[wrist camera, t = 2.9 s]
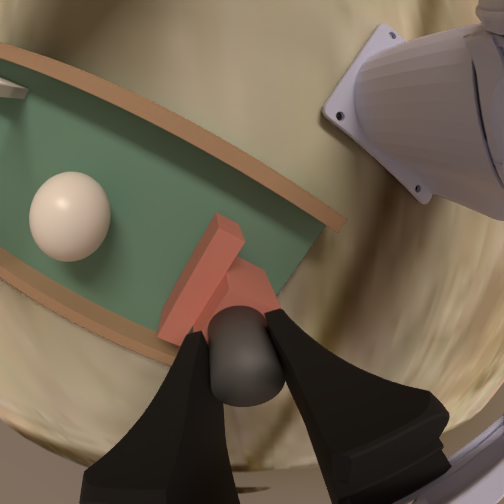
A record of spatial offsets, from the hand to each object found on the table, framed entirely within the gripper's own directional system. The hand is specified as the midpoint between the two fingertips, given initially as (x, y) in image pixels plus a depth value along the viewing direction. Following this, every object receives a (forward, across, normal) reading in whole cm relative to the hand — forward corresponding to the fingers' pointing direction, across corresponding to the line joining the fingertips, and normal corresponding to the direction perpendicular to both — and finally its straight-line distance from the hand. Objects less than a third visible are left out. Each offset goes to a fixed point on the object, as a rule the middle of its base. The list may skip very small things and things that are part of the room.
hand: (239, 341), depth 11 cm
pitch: (+6, +6, -6) cm, 11 cm away
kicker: (+5, 0, 0) cm, 5 cm away
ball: (+3, +6, -6) cm, 9 cm away
